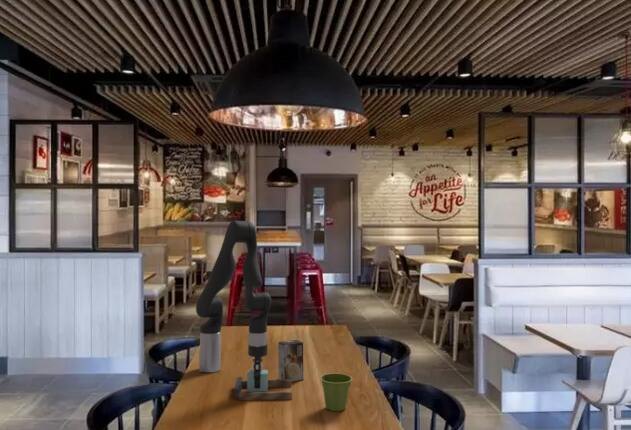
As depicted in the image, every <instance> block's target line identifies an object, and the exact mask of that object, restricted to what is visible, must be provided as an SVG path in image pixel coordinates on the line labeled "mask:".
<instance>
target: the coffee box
mask: <svg viewBox="0 0 631 430" xmlns="http://www.w3.org/2000/svg"><path fill="white" fill-rule="evenodd" d="M277 346H278V350H277V351H278V357H277V358H278V380H291V383H292V382H296V381H297V382H298V381H303V380H304V342H302V341H301V340H298V339H293V340H285V341H284V340H283V341H278V344H277Z"/></svg>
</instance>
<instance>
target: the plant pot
mask: <svg viewBox="0 0 631 430" xmlns="http://www.w3.org/2000/svg"><path fill="white" fill-rule="evenodd" d="M319 379H320V381H321V385H322V391H323V396H324V404H325V409H326V410H329V411H331V412H342V411H344V410H346V408H347V402H348V397H349V396H348V395H349V390H350V387H351V384H352V383H351V382H353V377H352V376H351V375H348V374H345V373H340V372H339V373H335V372H334V373H330V372H329V373H325V374H322V375H320V377H319Z"/></svg>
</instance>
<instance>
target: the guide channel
mask: <svg viewBox="0 0 631 430" xmlns="http://www.w3.org/2000/svg"><path fill="white" fill-rule="evenodd" d="M284 387H285V388H286V387H287V388H289V387H290V388H291V387H292V382H291V380H280V379H268V388H284ZM243 388H247V379H246V380H244V379H243V376H237V377H236V380H235V384H234V388H233V401H258V400H260V401H263V400H292V399H293V391H257V392H247V391H243V392H242V390H243Z"/></svg>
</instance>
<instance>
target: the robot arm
mask: <svg viewBox="0 0 631 430" xmlns="http://www.w3.org/2000/svg"><path fill="white" fill-rule="evenodd" d="M256 230H257V229H256V226H255V224H254V222H252V221H249V220H237V219H236V220H232V221H230V222H229V224H228V226H227V228H226V231H225V234H224V237H223V241H222V244H221V248H220V250H219V253H218V255H217V258H216V260H215V262H214V265H213V267H212V269H211V273H210V275H209V277H208V280H207V281H206V284H205V287H204V288H203V290H202V292H201V294H200V295H199V297H198V299H197V302H196V304H195V312H196V315H197V316H198V317H200V318H205V319H207V318H209V319H207V321H206V322H204V323H203V324H201V325H200V328H199V330H200V331H199V336H200V337H199V350H198V351H199V355H198V358H199V360H198V362H199V363H198V369H199V371H198V372H200V373H201V372H202V373H216V372H219V371H221V370H222V363H221V362H222V354H221V353H222V326H223V313H224V306H223V305H224V304H223V299H222V298H221V297H220V296H219V295H218V294H219V292H221V291H222V290H223V289H224V288H225V287H226V286H227V285H228V284H229V283H231V280H232V279H233V277H234V274H235V271H236V269H237V263H236V260H235V257H234V252H233V250H234V247H235V245H236V244H237V243H241V244H246V247H247V250H246V255H245V259H244V260H243V263H242V277H243V281H244V290H245V291H244V307H245V308H246V310H247V311H249V312H256V311H257V312H258V314H256V315H254V316H251V317H250V318H249V321H248V337H247V339H248V340H247V346H248V347H247V354H248V356H249V357H253V359H252V370H253V372H254V379H255V384H254V387H255V388H260V378H261V376H260V375H261V372H262V370H263V364H264V363H263V361H264V360H263V357H266V356H267V355H268V331H267V327H268V317H269V313H270V310H271V307H272V297H271V295H270V294H269V293H268V292H265V291H262V292H254V291H256V290H257V289H260V288H261V287H262V286H263V278H262V275H261V269H260V265H259V256H258V255H259V254H258V239H257V231H256ZM256 373H258V374H259V375H256Z"/></svg>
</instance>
